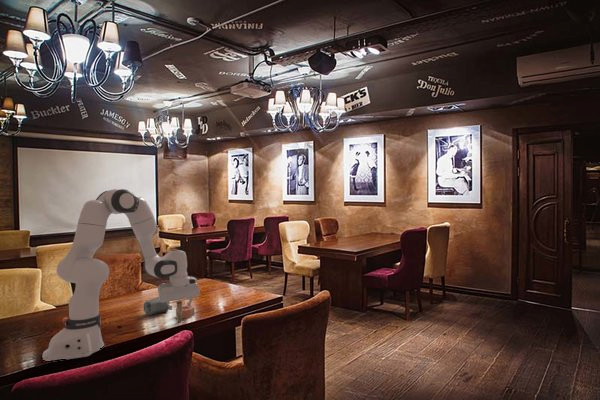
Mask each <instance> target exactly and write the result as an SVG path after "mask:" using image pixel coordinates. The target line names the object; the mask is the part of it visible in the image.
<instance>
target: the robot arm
mask: <svg viewBox="0 0 600 400" xmlns="http://www.w3.org/2000/svg"><path fill="white" fill-rule="evenodd" d="M151 209H152V208H151V207H150V205H149V204H148V202H147V200H146V199H145V198H143V197H142V196H141V197H140V196H138V197H137V196H136V195H135V194H134V193H133V192H132V191H131V190H129V189H122V188H121V189H116V188H115V189H110V190H106V191H103V192H101V193H100V194H99V195H98V196H97V197H96V198H95V199H90V200H88V201H85V203H84V205H83V207H82V209H81V211H80V214H79V218H78V221H77V226H76V230H75V234H74V238H73V241H72V244H71V246H70V249H69V250H68V252H67V254H66V255H65V257H63V259H61V260H60V261H59V262H58V264H57V266H56V274H57V276H58V277H59V278H60V279H61V280H63V281H65V282H68V283H71V284H72V283H73V284H75V288H74V292H73V294H72V295H71V296H70V297H69V299H68V314H69V315H68V316H69V317H67V316H66V317H63V319H62V323H63V328H62V329H61V330H60V331H58V333H56V334H55V335H54V336H53V337H52V338H51V339H50V340H49V341H50V342H49V344H48V348H47V349H45V350H44V351H43V353H42V355H41V356H42V358H43V359H42V360H45V361H51V360H57V359H66V360H71V359H72V360H73V359H79V358H86V357H90V356H91V355H92V354H94V353H96V352H98V351H100V350H101V349H100V348H102V347H103V346H104V347H105V343H104V340H103V337H102V332H101V325H102V323H101V322H102V321H101V320H102V319H101V314H100V310H99V309H100V305H99V300H100V299H99V298H100V293H101V288H102V286H103V284H104V282H105V281H107V280H108V278H109V275H110V267H109V265H108V263H106V262H104V261H103V260H101V259H99V258H93V257H94V255H95V253H96V251H98V249H100V248H101V247H102V246H103V243H104V240H105V234H106V229H107V223H108V220H109V217H110V216H111V215H112V214H113V215H119V214H120V215H121V214H125V216H126V218H127V219H128V223H129V224H130V227H131V229H132V231H133V233H134V236H135V237H136V240H137V243H138V245H139V249H140V252H141V253H142V254H141V255H142V257H143V263H142V264H143V265H142V266H143V271H144V272H145V274H147V275H149V276H152V277H155V278H158V279H166V278H169V282H166V283H165V282H163V283H160V284H159V285H158V286H157V292H158V297H157V298H158V299H159V301H160V302H161V303H163V302H166V304H167V305H168V306H169V309H168V311H171V310H173V305H170V304H171V302H175V301H178V300H179V301H181V300H186V299H189V301H187V302H186V303H187V304H186V305H187V306H188V307H189V306H192V302H193V300H194V298H196V297H198V298H199V296H200V294H201V292H200V291H201V290H200V286H199V284H198V279H197V278H196V277H194V276H189V275H188V259H187V257H188V256H187V254H186V251H184V250H181V249H175V248H174V249H171V250H169V251H168V252H167V253H166V254H165V255H163V256H160V255H158V254H157V252H156V249H155V246H154V242H153V235H154V234H155V233H156V232H157V229H158V228H157V222H156V219H155V216H154V213H153V211H152V210H151ZM104 347H103V348H104ZM103 348H102V349H103ZM45 361H44V362H45Z"/></svg>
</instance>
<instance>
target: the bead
mask: <svg viewBox="0 0 600 400" xmlns="http://www.w3.org/2000/svg"><path fill="white" fill-rule="evenodd" d="M195 311H196V310H195V306H193V305H191V306H189V307H188V306H187V304H185V305H182V319H188V318H192V317H193V316H194V315H195V314H196V313H195ZM175 316H176V317H177V307H176V308H175Z"/></svg>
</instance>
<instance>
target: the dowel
mask: <svg viewBox="0 0 600 400" xmlns="http://www.w3.org/2000/svg"><path fill="white" fill-rule="evenodd" d="M182 306H183V301H181V300H179V301H178V300H177V301H176V308H177V316H176V322H177V323H181V321H182V322H183V318H182Z"/></svg>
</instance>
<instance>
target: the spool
mask: <svg viewBox="0 0 600 400" xmlns="http://www.w3.org/2000/svg"><path fill="white" fill-rule="evenodd" d="M143 311H144V314H146V316H152V315H156V314H160V313H165V312H168V311H169V306H168V305H167V304H166V302H163V303H161V302H160V301H159V299H158V297H156V298H151V299H149V300H146V301H145V302H144V304H143Z"/></svg>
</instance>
